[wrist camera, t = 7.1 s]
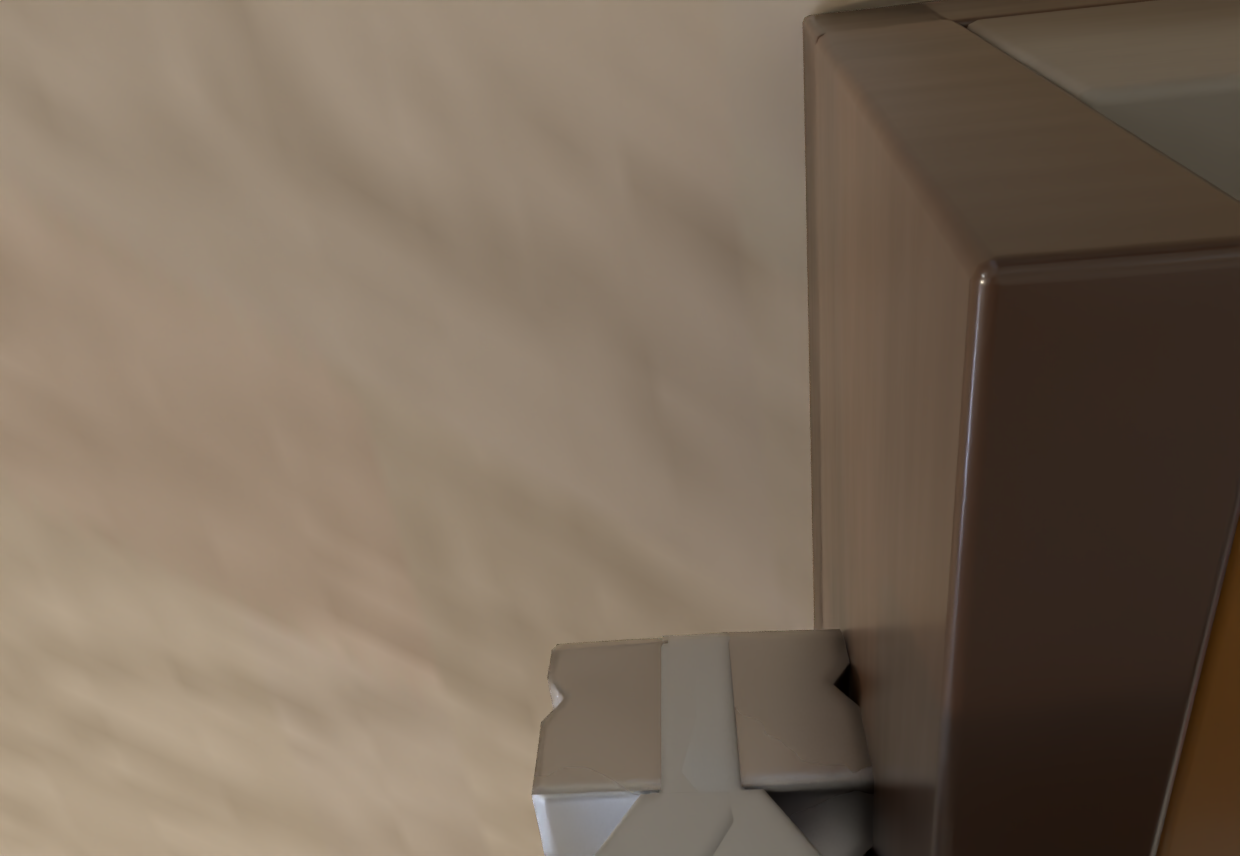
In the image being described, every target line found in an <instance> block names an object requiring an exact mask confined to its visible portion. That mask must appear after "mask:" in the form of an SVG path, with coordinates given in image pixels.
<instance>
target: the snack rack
mask: <svg viewBox="0 0 1240 856" xmlns="http://www.w3.org/2000/svg"><path fill="white" fill-rule="evenodd" d="M803 61H804V113H805V166H806V219H807V272H808V325H809V378H810V430H811V483H812V536H813V589H814V630H826V629H840V630H841V632H842V635H843V637H844V641H845V645H846V649H847V653H848V657H849V661H850V699H851V700H852V701H853V702H855V703H856V704H857V705H858V706H859V707H860V711H861V716H862V721H863V726H864V731H865V736H866V741H867V746H868V751H869V756H870V761H871V766H872V771H873V776H874V814H873V846H872V847H871V848H870V849H869V850H868V851H867V852H866V854H867V856H1240V0H942V1H933V2H924V3H915V4H906V5H897V6H888V7H879V8H870V9H861V10H852V11H843V12H834V13H825V14H816V15H809V16H807V17H805V18H804V21H803Z"/></svg>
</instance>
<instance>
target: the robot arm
mask: <svg viewBox="0 0 1240 856" xmlns="http://www.w3.org/2000/svg"><path fill="white" fill-rule="evenodd" d="M548 683H549V688H550V694H551V699H552V704H553V711H552V712H551V713H550V714H549V715H548V716H547V717H546V718H545V719H544V720H543V721H542V722H541V728H540V736H539V744H538V751H537V759H536V767H535V774H534V782H533V790H532V798H533V803H534V807H535V812H536V817H537V821H538V826H539V831H540V835H541V840H542V844H543V849H544V854H545V856H867V854H866V852H867V851H868V850H869V849H870V848H871V847H872V846H873V814H874V776H873V771H872V766H871V761H870V756H869V751H868V746H867V741H866V736H865V731H864V726H863V721H862V716H861V711H860V707H859V706H858V705H857V704H856V703H855V702H853V701H852V700H851V699H850V661H849V657H848V653H847V649H846V645H845V641H844V637H843V635H842V632H841V630H840V629H826V630H794V631H762V632H730V633H727V632H723V633H709V634H695V635H671V636H663V637H662V638H647V639H631V640H615V641H599V642H583V643H567V644H557V645H556V646H555V647H554V648H553V650H552V652H551V658H550V665H549V671H548Z"/></svg>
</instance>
